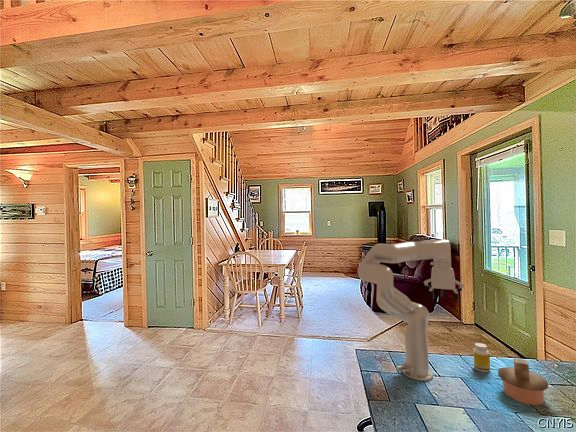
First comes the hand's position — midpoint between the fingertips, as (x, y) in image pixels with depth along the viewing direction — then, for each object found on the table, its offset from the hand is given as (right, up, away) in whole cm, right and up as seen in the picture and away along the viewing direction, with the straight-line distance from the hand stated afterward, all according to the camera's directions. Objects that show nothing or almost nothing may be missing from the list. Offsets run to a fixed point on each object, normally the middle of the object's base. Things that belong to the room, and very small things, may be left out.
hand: (443, 300), depth 137 cm
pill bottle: (+13, -30, -8) cm, 34 cm away
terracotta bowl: (+16, -29, -28) cm, 43 cm away
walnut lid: (+15, -23, -27) cm, 39 cm away
